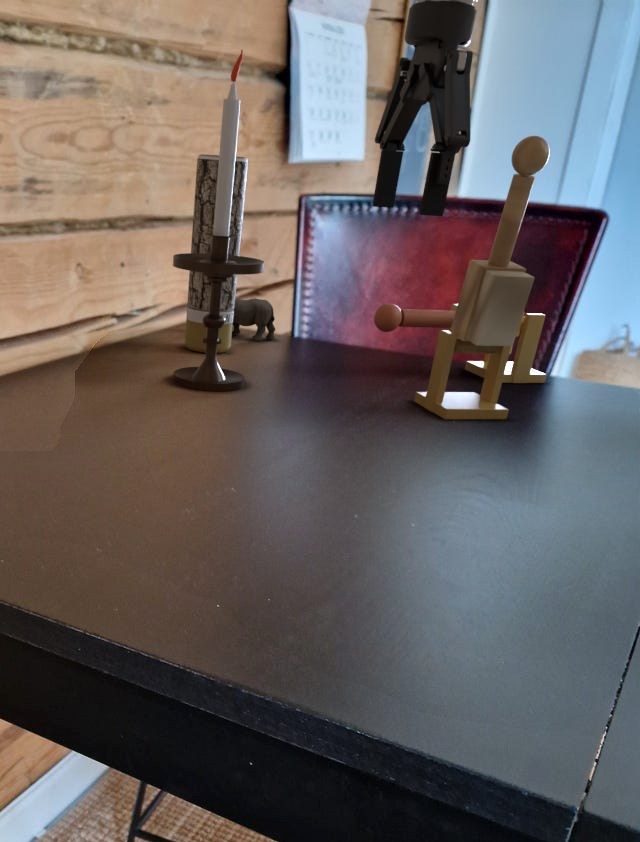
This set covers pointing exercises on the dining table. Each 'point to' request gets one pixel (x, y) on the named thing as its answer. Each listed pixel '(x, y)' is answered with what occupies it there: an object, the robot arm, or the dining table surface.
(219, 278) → the candlestick
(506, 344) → the brush near
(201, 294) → the paper tube
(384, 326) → the brush far
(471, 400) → the bracket near
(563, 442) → the dining table surface
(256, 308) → the rhino figurine
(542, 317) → the bracket far
